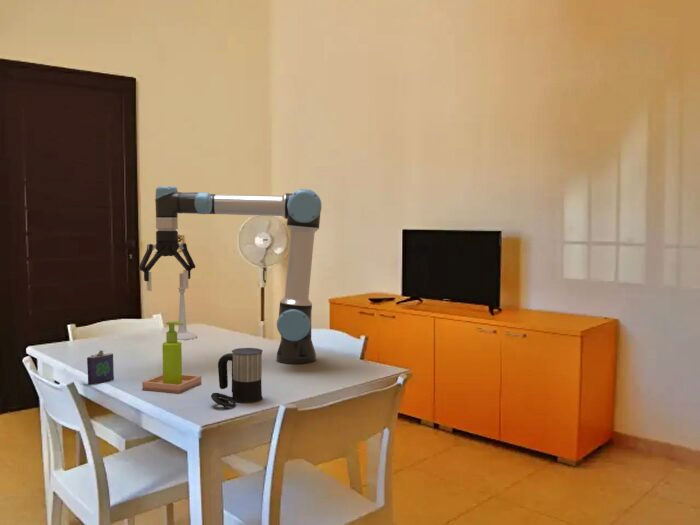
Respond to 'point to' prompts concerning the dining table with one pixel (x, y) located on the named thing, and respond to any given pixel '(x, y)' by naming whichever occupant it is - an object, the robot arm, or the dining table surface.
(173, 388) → the holder dish
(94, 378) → the flask
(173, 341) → the soap dispenser
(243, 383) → the milk frother
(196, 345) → the dining table surface
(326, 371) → the dining table surface
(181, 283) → the candlestick
